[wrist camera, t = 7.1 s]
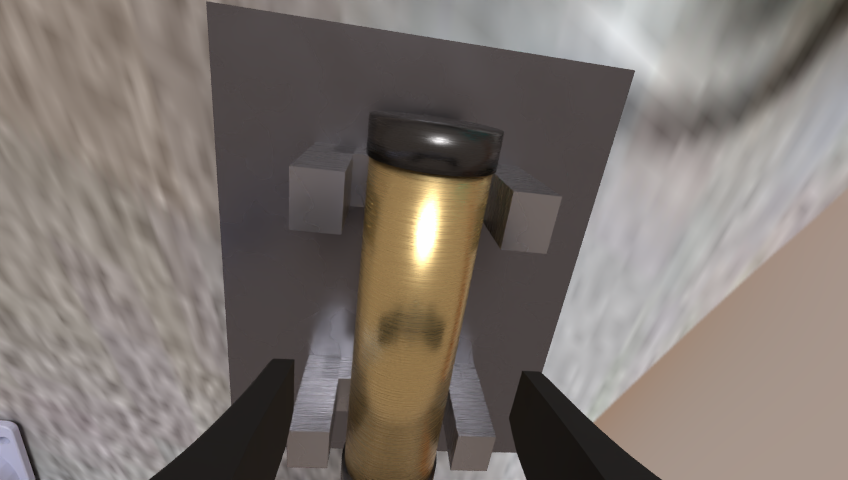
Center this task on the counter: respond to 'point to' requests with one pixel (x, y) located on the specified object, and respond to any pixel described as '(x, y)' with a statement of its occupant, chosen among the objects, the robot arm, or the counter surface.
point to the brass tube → (413, 286)
